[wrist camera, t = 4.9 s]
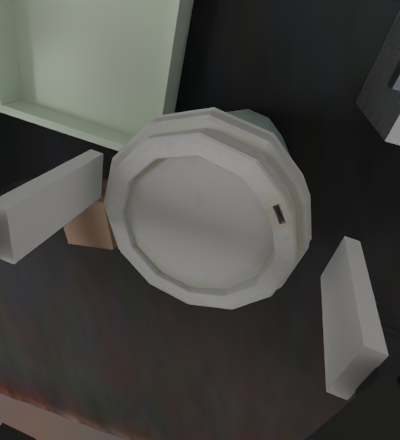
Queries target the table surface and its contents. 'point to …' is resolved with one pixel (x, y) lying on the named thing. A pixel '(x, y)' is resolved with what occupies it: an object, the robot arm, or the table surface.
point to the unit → (384, 88)
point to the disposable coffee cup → (210, 206)
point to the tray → (92, 64)
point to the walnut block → (92, 226)
